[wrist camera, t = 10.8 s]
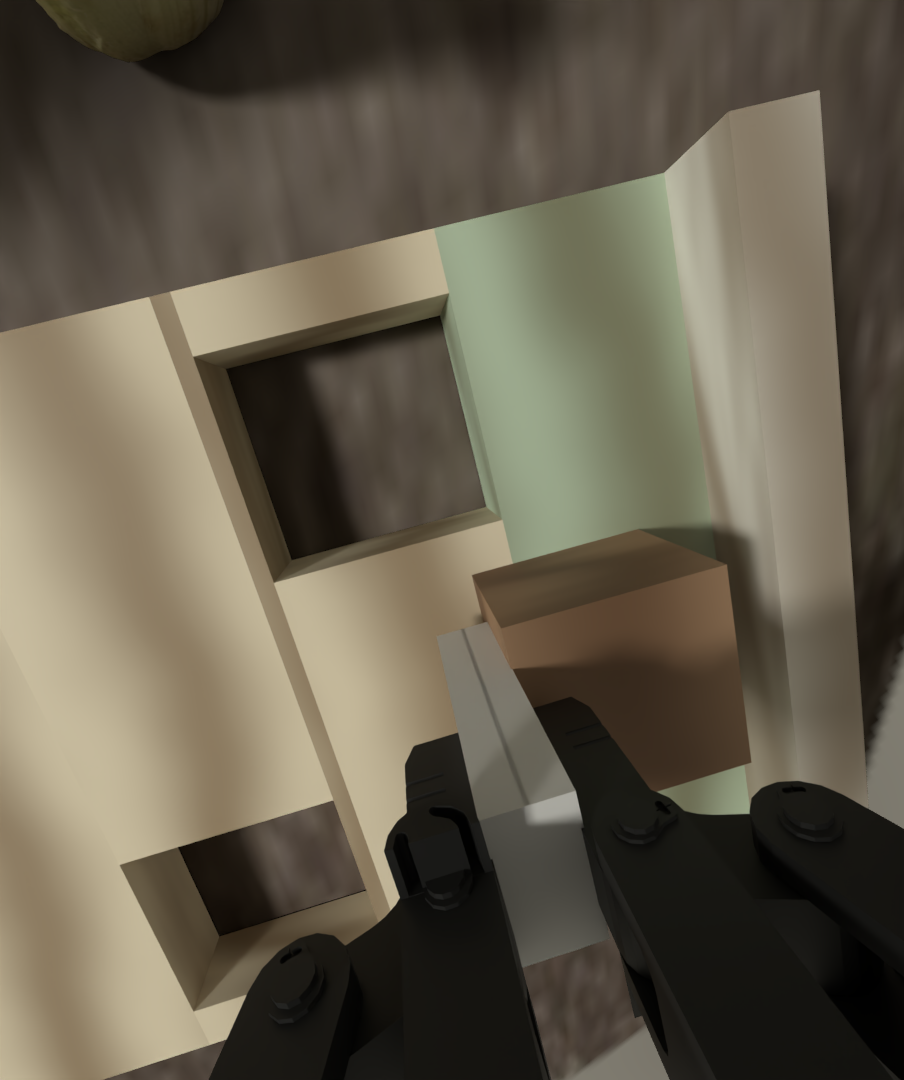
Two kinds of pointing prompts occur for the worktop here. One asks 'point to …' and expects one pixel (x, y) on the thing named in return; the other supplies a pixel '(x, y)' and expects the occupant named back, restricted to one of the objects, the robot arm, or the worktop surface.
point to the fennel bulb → (132, 24)
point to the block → (629, 648)
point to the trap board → (388, 558)
